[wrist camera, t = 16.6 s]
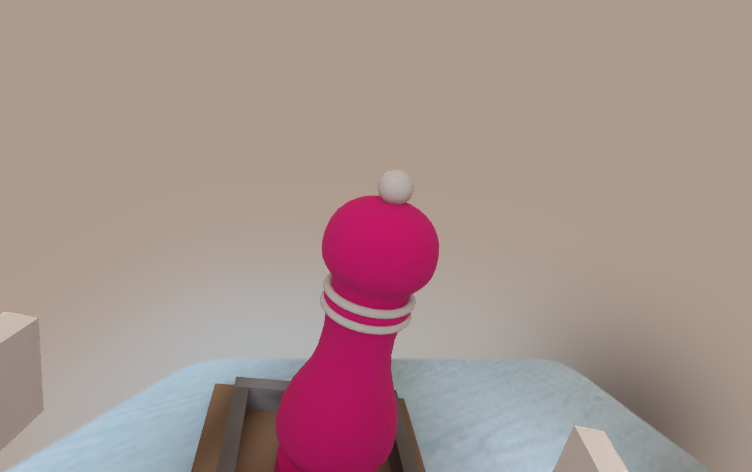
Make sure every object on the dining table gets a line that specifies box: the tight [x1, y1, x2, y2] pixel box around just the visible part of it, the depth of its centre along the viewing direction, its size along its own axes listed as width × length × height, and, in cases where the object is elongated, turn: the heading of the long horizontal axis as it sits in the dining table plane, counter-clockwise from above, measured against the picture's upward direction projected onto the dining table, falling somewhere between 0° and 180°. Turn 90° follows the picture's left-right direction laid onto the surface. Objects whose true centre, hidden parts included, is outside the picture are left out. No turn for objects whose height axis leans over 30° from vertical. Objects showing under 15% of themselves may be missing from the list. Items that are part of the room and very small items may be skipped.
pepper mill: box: [274, 169, 439, 472], centre depth 25 cm, size 7×7×20 cm
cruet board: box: [191, 377, 426, 472], centre depth 28 cm, size 15×15×3 cm
